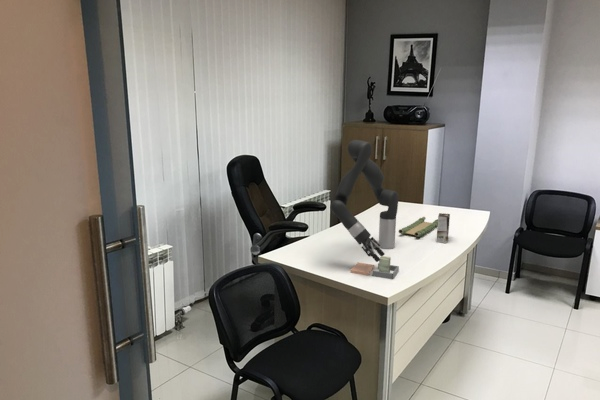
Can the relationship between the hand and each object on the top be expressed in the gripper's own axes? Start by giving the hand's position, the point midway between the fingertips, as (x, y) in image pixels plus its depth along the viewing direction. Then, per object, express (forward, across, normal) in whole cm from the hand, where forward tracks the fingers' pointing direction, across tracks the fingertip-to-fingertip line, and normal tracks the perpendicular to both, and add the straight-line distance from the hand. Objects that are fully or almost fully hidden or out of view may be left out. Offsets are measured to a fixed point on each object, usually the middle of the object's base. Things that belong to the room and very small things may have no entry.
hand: (380, 258), depth 221 cm
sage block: (+7, 0, +4) cm, 8 cm away
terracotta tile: (-1, 0, +12) cm, 12 cm away
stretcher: (+9, +82, +2) cm, 83 cm away
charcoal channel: (+7, 0, +4) cm, 8 cm away
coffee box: (+20, +66, -9) cm, 70 cm away
